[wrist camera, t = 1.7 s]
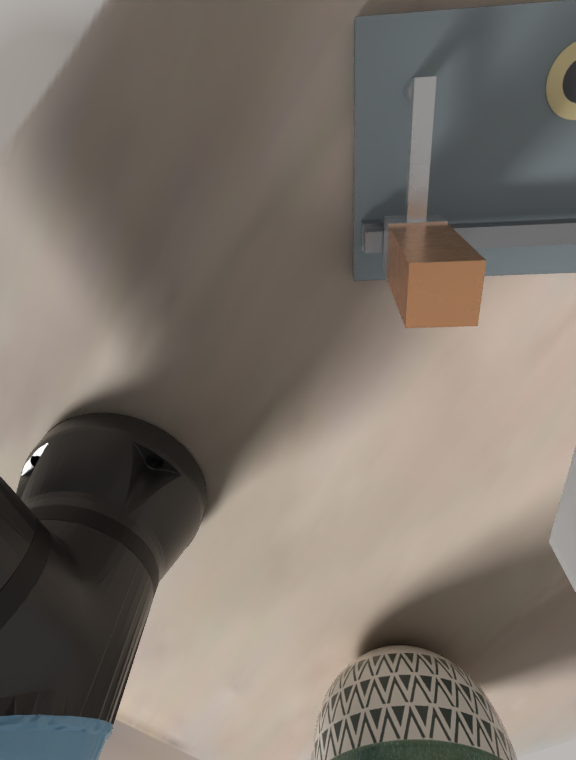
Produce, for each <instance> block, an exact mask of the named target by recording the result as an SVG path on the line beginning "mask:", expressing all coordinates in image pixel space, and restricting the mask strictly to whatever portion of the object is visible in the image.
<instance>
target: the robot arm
mask: <svg viewBox="0 0 576 760" xmlns="http://www.w3.org/2000/svg"><path fill="white" fill-rule="evenodd" d="M206 498H207V493H206V485H205V481H204V477H203V475H202V472H201V470H200V468H199V466H198V464H197V463H196V461H195V460H194V458H193V457H192V456H191V454H190V453H189V452H188V451H187V450H186V449H185V448H184V447H183V446H182V445H181V444H180V443H179V442H178V441H177V440H175V439H174V438H173V437H171V436H170V435H169V434H167V433H166V432H164V431H162V430H161V429H159V428H157V427H155V426H153V425H151V424H149V423H146V422H144V421H141V420H138V419H135V418H131V417H127V416H122V415H116V414H87V415H82V416H78V417H74V418H71V419H68V420H66V421H64V422H62V423H60V424H58V425H57V426H55V427H54V428H52V429H51V430H50V431H49V432H48V433H47V434H46V435H45V436H44V437H43V438H42V440H41V441H40V442H39V443H38V445H37V446H36V447H35V448H34V449H33V451H32V452H31V453H30V455H29V457H28V458H27V460H26V462H25V464H24V467H23V470H22V473H21V477H20V481H19V484H18V488H17V492H16V493H15V492H14V491H13V490H12V489H11V488H10V487H9V486H8V484H7V483H6V482H5V481H4V480H3V479H2V478H1V477H0V760H98V758H99V756H100V753H101V751H102V748H103V746H104V743H105V741H106V739H108V738H109V737H110V735H111V733H112V729H113V724H114V720H115V718H116V714H117V711H118V708H119V705H120V702H121V699H122V696H123V692H124V689H125V686H126V683H127V680H128V677H129V673H130V670H131V667H132V664H133V661H134V658H135V655H136V651H137V648H138V645H139V642H140V639H141V636H142V633H143V629H144V626H145V623H146V620H147V617H148V614H149V611H150V607H151V604H152V601H153V598H154V595H155V592H156V589H157V586H158V583H159V581H160V580H161V579H162V578H163V576H164V575H165V574H166V573H167V571H168V570H169V569H170V568H171V567H172V565H173V564H174V563H175V561H176V560H177V559H178V558H179V556H180V555H181V554H182V552H183V551H184V550H185V548H187V546H188V545H189V544H190V543H191V541H192V540H193V538H194V537H195V535H196V533H197V531H198V529H199V526H200V523H201V520H202V516H203V513H204V510H205V506H206ZM549 543H550V545H551V547H552V549H553V551H554V553H555V555H556V557H557V559H558V560H559V562H560V564H561V566H562V568H563V570H564V572H565V574H566V576H567V577H568V579H569V581H570V583H571V585H572V587H573V589H574V591H575V593H576V446H575V450H574V454H573V457H572V461H571V464H570V468H569V471H568V475H567V479H566V482H565V486H564V489H563V493H562V496H561V500H560V504H559V507H558V511H557V514H556V518H555V521H554V525H553V529H552V532H551V536H550V539H549Z"/></svg>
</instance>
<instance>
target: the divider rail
mask: <svg viewBox="0 0 576 760" xmlns="http://www.w3.org/2000/svg"><path fill="white" fill-rule="evenodd" d="M449 225H450V226H451V227H452V228H453V229H454V230H455V231H456V232H457V233H458V234H459V235H460V236H461V237H462V238H464V239H465V240H466V241H467V242H468V243H469V244H470V245H471V246H472V247H473V248H474V249H479V248H504V247H528V246H552V245H576V218H568V219H545V220H523V221H501V222H479V223H457V224H449ZM383 247H384V227H383V222H382V220H381V219H375V220H361V249H362V251H365V253H383Z"/></svg>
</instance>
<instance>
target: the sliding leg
mask: <svg viewBox="0 0 576 760" xmlns="http://www.w3.org/2000/svg"><path fill="white" fill-rule="evenodd" d="M436 78H437V76H432V77H417V78H412V81H411V82H409V83H407V84H406V86H405V88H404V96H405V98H406V99H407V100H410V101H411V108H410V126H409V145H408V164H407V183H406V202H405V215H400V216H385V218H384V247H383V271H384V274H385V277H386V279H387V280H388V283H389V285H390V288H391V291H392V293H393V296H394V299H395V301H396V304H397V307H398V309H399V312H400V315H401V318H402V320H403V323H404V326H405V328H423V327H456V326H478V319H479V311H480V304H481V296H482V289H483V281H484V274H485V267H486V259H485V258H483V257H482V256H481V255H480V254H479V253H478V252H477V251H476V250H475V249H474V248H473V247H472V246H471V245H470V244H469V243H468V242H467V241H466V240H465V239H464V238H462V237H461V236H460V235H459V234H458V233H457V232H456V231H455V230H454V229H453V228H452V227H451V226H450V225H449V224H448V223H447V222H448V221H447V220H446V219H445V218H444V217H443V216H442V215H441V214H427V201H428V187H429V174H430V160H431V147H432V133H433V119H434V106H435V92H436Z"/></svg>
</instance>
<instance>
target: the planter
mask: <svg viewBox="0 0 576 760" xmlns="http://www.w3.org/2000/svg"><path fill="white" fill-rule="evenodd" d="M311 760H517V757H516V754H515V752H514V749H513V747H512V744H511V742H510V739H509V737H508V734H507V732H506V730H505V728H504V726H503V724H502V722H501V720H500V718H499V716H498V714H497V712H496V711H495V709H494V707H493V706H492V704H491V702H490V701H489V699H488V697H487V696H486V695H485V693H484V692H483V690H482V689H481V688H480V686H479V685H478V684H477V683H476V682H475V681H474V680H473V679H472V678H471V677H470V676H469V675H468V674H467V673H466V672H464V671H463V670H462V669H461V668H460V667H458V666H457V665H455V664H454V663H452V662H451V661H449V660H448V659H446V658H444V657H442V656H440V655H439V654H436V653H434V652H432V651H429V650H426V649H423V648H419V647H414V646H407V645H393V646H385V647H381V648H378V649H375V650H372V651H369V652H367V653H365V654H363V655H362V656H360V657H359V658H357V659H356V660H354V661H353V662H352V663H350V664H349V665H348V666H347V667H346V668H345V669H344V670H343V671H342V672H341V673H340V674H339V675H338V677H337V678H336V679H335V680H334V682H333V683H332V685H331V686H330V688H329V690H328V692H327V694H326V696H325V698H324V701H323V703H322V706H321V709H320V713H319V716H318V720H317V724H316V729H315V733H314V739H313V747H312V756H311Z"/></svg>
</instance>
